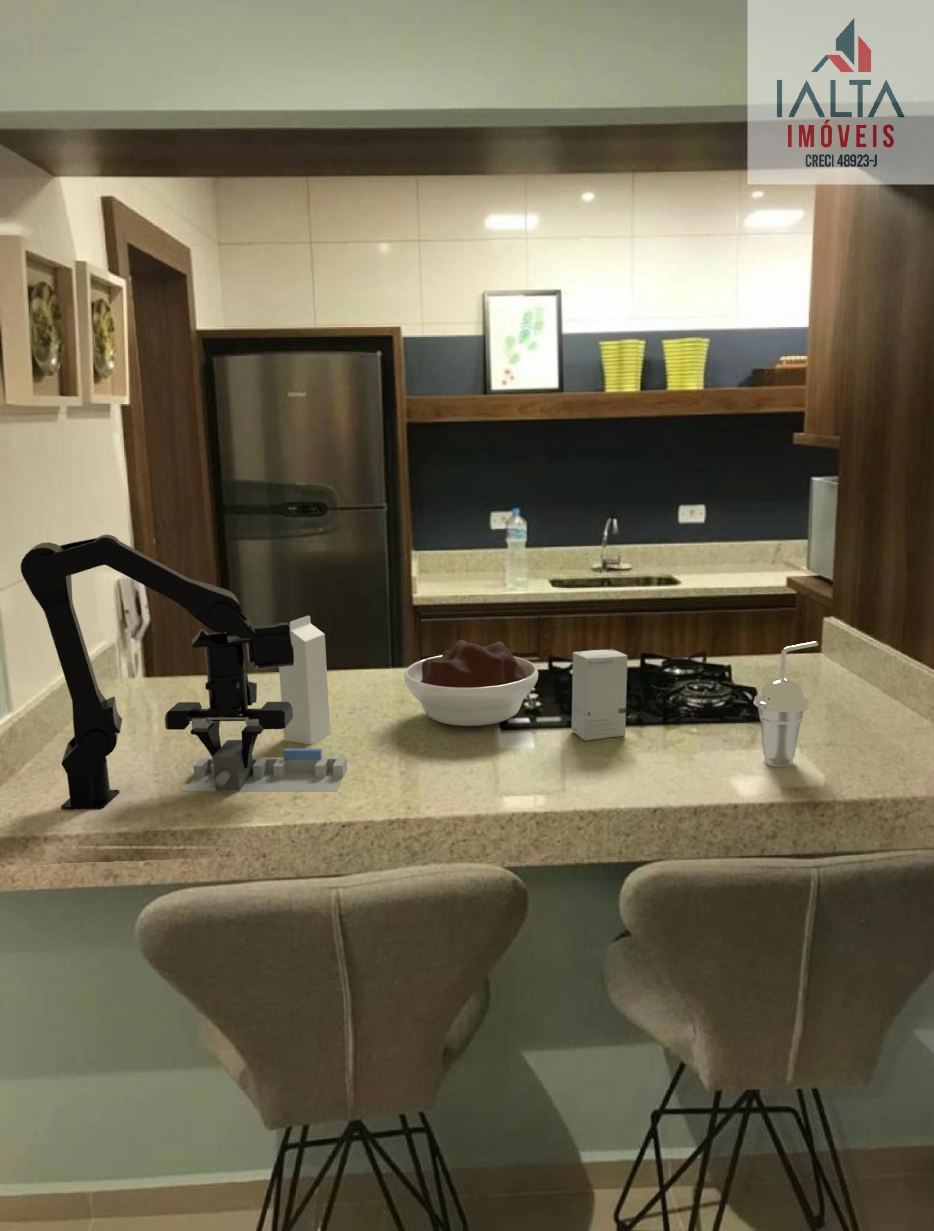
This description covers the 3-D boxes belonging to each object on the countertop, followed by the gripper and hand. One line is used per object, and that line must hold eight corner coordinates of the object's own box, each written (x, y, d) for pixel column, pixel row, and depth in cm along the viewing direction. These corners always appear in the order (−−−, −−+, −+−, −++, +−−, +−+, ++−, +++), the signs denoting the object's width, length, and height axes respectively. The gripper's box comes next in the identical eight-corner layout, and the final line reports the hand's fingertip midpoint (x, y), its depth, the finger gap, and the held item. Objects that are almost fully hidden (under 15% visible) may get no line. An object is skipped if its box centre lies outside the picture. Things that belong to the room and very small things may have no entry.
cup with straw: (756, 749, 158) (761, 633, 154) (813, 757, 154) (820, 638, 150) (746, 766, 151) (751, 645, 147) (805, 775, 147) (812, 651, 143)
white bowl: (378, 719, 179) (375, 642, 175) (473, 690, 195) (471, 619, 192) (470, 751, 161) (468, 665, 158) (566, 716, 178) (566, 638, 174)
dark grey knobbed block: (234, 798, 143) (231, 763, 141) (209, 798, 143) (206, 763, 142) (253, 772, 153) (250, 739, 152) (230, 772, 153) (227, 740, 152)
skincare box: (584, 742, 164) (584, 659, 161) (570, 731, 170) (570, 651, 166) (627, 736, 166) (629, 654, 163) (612, 725, 172) (613, 646, 169)
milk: (283, 741, 168) (274, 620, 163) (303, 731, 173) (295, 613, 168) (312, 746, 165) (303, 623, 160) (331, 735, 170) (323, 616, 166)
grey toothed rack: (336, 792, 145) (335, 769, 144) (183, 792, 146) (180, 769, 145) (347, 770, 153) (346, 748, 153) (202, 770, 155) (200, 748, 154)
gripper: (297, 657, 153) (303, 749, 156) (184, 658, 154) (193, 749, 157) (280, 676, 142) (287, 774, 145) (159, 677, 143) (168, 774, 146)
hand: (233, 767), depth 149 cm, fingers closed on dark grey knobbed block, 4 cm apart
